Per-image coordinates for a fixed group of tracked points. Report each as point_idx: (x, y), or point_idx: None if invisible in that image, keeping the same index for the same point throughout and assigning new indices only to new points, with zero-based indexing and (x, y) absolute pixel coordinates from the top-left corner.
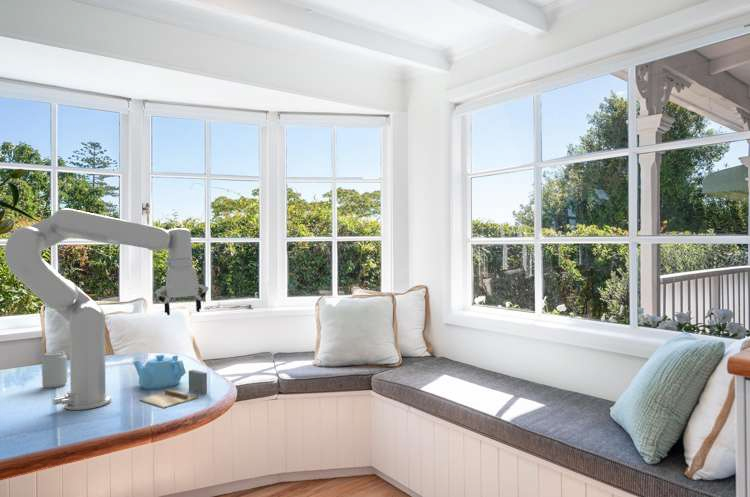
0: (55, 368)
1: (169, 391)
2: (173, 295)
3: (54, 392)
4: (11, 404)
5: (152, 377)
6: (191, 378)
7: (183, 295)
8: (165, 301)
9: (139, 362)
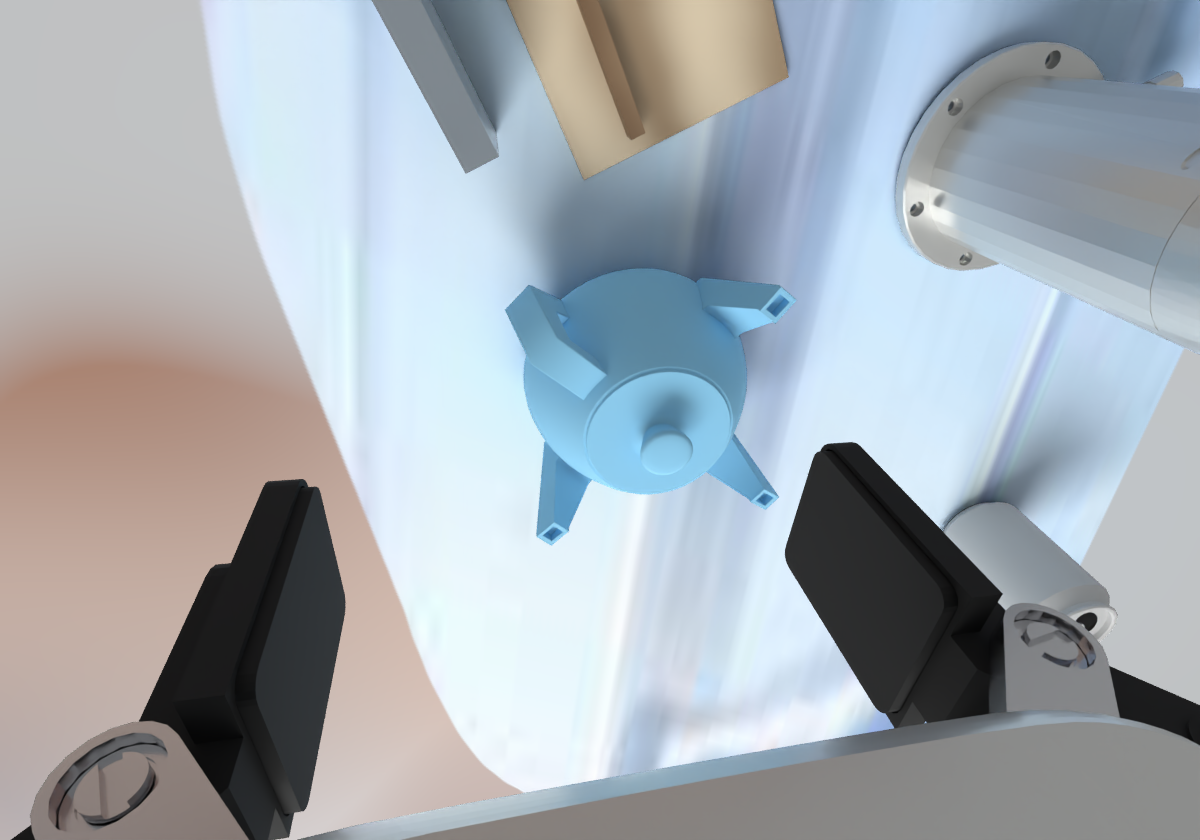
0: (1043, 553)
1: (624, 76)
2: (1089, 772)
3: (1008, 440)
4: None
5: (700, 301)
6: (479, 111)
7: (728, 800)
8: (1063, 650)
9: (747, 492)
